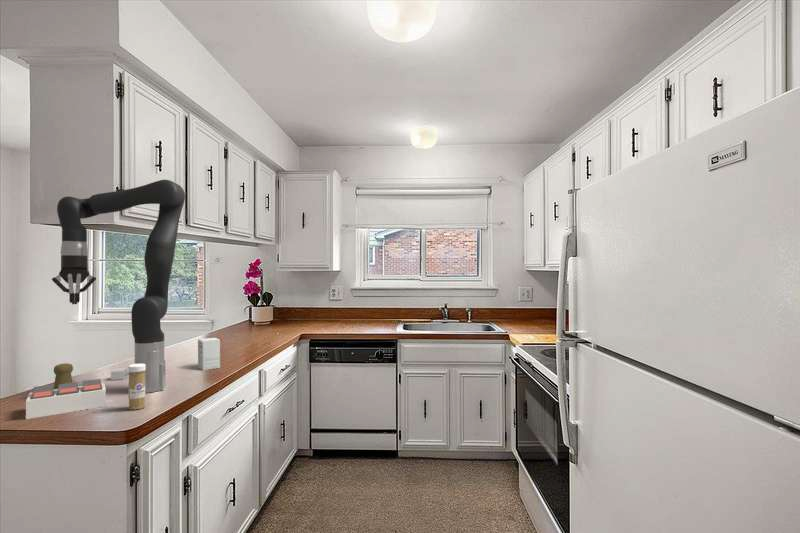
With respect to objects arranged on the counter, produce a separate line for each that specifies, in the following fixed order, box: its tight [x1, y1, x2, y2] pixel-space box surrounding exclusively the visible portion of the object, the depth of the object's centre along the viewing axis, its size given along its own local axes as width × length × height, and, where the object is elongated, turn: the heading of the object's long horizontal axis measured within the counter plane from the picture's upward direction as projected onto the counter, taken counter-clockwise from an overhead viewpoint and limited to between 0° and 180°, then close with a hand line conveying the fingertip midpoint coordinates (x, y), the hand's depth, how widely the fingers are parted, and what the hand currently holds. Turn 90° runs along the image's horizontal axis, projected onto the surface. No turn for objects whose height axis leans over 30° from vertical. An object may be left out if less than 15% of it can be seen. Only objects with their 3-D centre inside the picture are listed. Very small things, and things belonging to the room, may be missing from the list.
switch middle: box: [58, 381, 79, 396], centre depth 134 cm, size 5×7×1 cm
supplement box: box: [197, 337, 221, 371], centre depth 189 cm, size 7×7×13 cm
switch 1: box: [31, 383, 54, 399], centre depth 131 cm, size 5×7×1 cm
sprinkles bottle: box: [127, 363, 146, 411], centre depth 134 cm, size 5×5×14 cm
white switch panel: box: [25, 382, 107, 420], centre depth 134 cm, size 19×10×5 cm, turn 126°
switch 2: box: [82, 378, 102, 392], centre depth 138 cm, size 5×7×1 cm
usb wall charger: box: [110, 367, 129, 381], centre depth 171 cm, size 4×7×4 cm, turn 103°
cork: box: [53, 363, 74, 390], centre depth 147 cm, size 6×6×11 cm
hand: (74, 304), depth 152 cm, fingers closed
